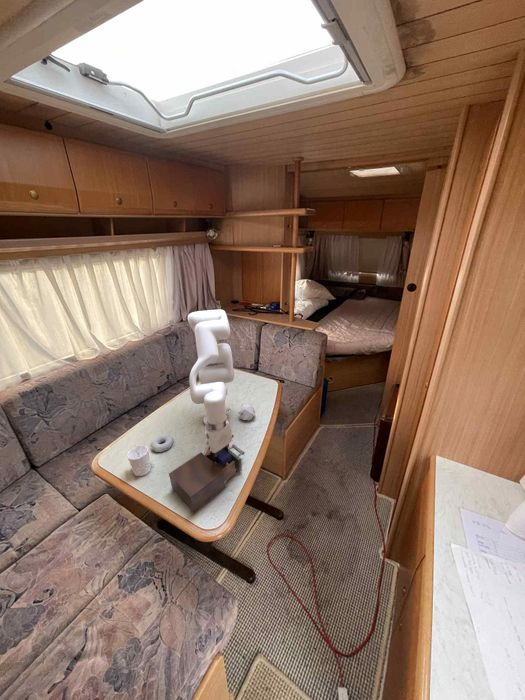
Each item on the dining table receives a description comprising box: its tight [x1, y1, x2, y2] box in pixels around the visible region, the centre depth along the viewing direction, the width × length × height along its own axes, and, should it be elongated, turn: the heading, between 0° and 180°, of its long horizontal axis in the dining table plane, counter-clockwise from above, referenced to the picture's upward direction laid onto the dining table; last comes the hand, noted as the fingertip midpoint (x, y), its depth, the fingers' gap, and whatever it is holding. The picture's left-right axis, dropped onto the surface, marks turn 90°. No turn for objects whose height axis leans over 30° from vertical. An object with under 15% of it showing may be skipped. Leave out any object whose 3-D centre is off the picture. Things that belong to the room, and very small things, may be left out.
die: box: [237, 403, 256, 421], centre depth 145 cm, size 8×9×10 cm
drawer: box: [204, 443, 245, 482], centre depth 114 cm, size 18×14×7 cm
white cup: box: [126, 444, 152, 477], centre depth 115 cm, size 8×8×10 cm
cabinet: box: [168, 452, 226, 514], centre depth 105 cm, size 15×15×9 cm
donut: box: [150, 434, 174, 453], centre depth 129 cm, size 10×4×10 cm
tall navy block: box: [211, 448, 231, 466], centre depth 112 cm, size 8×4×3 cm, turn 46°
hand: (220, 457), depth 112 cm, fingers closed on tall navy block, 4 cm apart
